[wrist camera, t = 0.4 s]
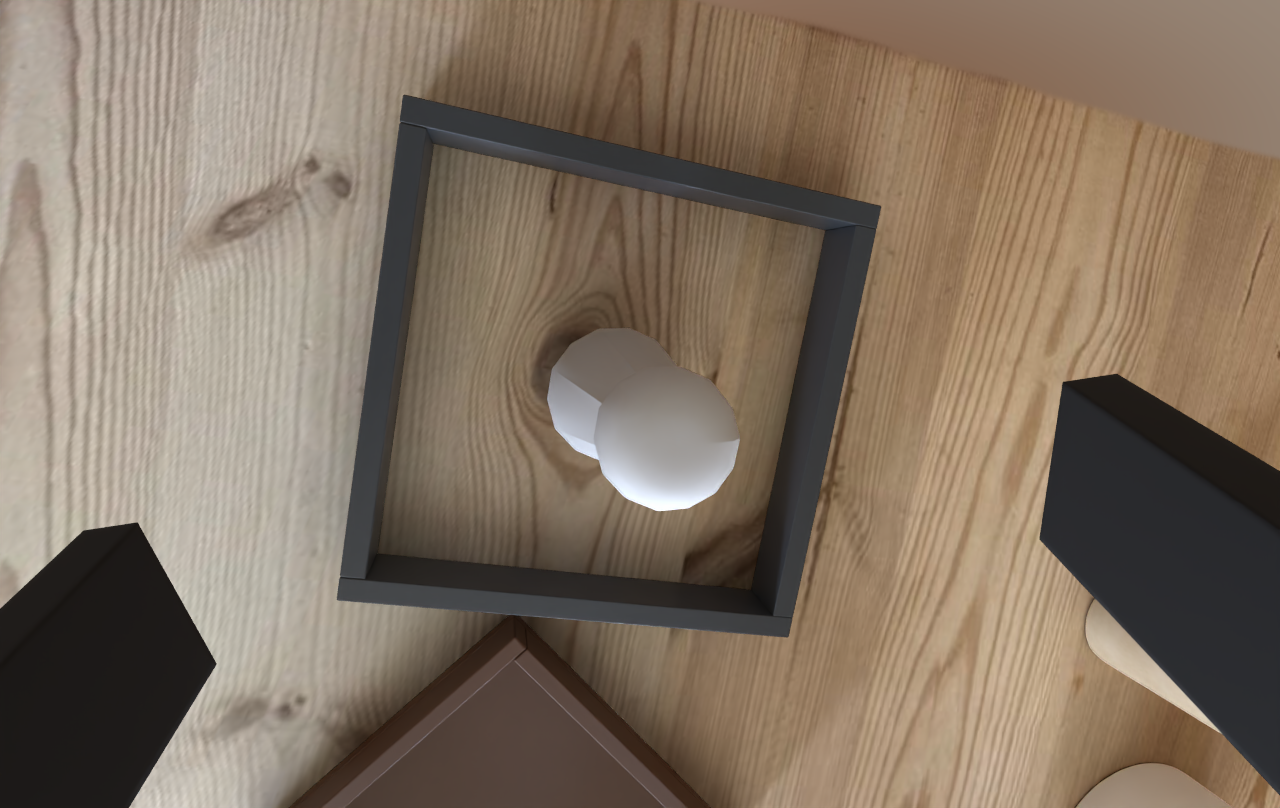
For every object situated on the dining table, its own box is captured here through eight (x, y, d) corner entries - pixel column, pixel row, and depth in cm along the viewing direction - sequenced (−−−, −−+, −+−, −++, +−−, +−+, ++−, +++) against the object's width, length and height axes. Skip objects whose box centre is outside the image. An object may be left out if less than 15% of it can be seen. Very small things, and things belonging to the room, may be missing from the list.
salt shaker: (619, 472, 33) (692, 583, 21) (518, 403, 32) (531, 476, 19) (692, 372, 33) (811, 422, 21) (595, 298, 32) (658, 302, 19)
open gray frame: (351, 572, 31) (336, 600, 29) (412, 113, 29) (403, 94, 26) (765, 609, 36) (788, 637, 33) (848, 213, 33) (881, 206, 30)
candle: (1077, 667, 40) (1261, 786, 31) (1089, 575, 39) (1282, 668, 30) (1158, 659, 41) (1360, 771, 32) (1171, 570, 40) (1382, 657, 31)
